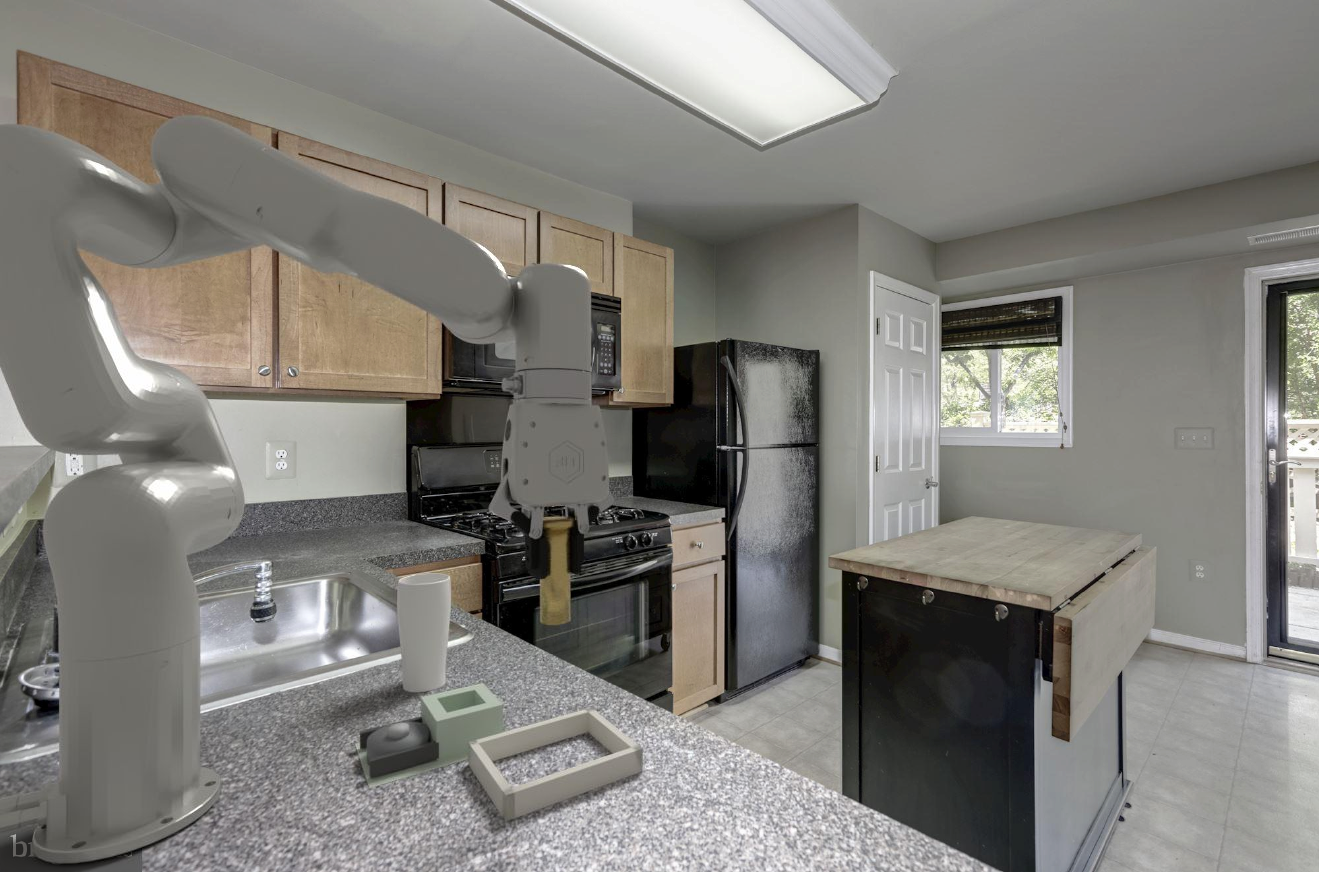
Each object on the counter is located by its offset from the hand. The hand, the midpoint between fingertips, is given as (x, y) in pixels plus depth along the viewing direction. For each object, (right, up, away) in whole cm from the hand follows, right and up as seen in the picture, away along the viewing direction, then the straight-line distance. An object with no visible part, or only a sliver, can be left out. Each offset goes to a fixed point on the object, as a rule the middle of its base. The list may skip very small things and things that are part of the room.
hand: (555, 572), depth 61 cm
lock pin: (0, -5, 0) cm, 5 cm away
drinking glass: (-21, -21, +21) cm, 36 cm away
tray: (0, -20, 0) cm, 20 cm away
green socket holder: (-14, -20, +4) cm, 25 cm away
